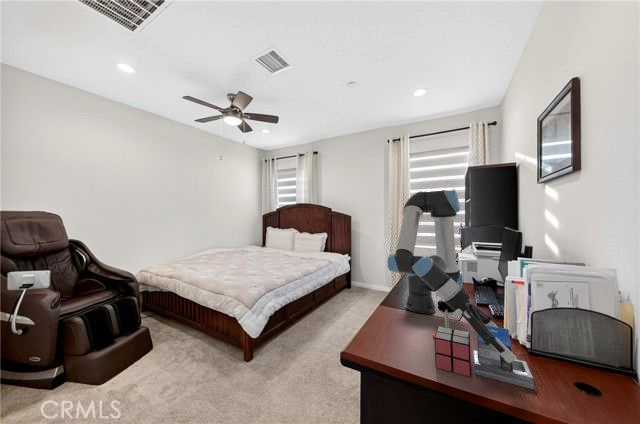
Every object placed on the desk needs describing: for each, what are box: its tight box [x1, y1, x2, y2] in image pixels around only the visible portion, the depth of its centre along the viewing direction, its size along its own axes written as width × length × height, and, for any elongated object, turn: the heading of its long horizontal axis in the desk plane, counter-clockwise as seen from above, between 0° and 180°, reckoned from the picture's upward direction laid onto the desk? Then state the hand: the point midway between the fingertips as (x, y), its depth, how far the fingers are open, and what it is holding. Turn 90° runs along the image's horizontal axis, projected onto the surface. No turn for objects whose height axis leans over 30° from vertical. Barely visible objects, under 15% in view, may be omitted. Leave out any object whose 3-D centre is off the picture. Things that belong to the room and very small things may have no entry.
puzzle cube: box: [433, 326, 472, 378], centre depth 81 cm, size 10×10×10 cm
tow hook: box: [432, 309, 450, 338], centre depth 99 cm, size 8×13×9 cm
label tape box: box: [476, 324, 513, 371], centre depth 77 cm, size 9×4×12 cm, turn 59°
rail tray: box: [473, 349, 535, 390], centre depth 76 cm, size 10×14×3 cm
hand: (508, 349), depth 75 cm, fingers open, 13 cm apart
